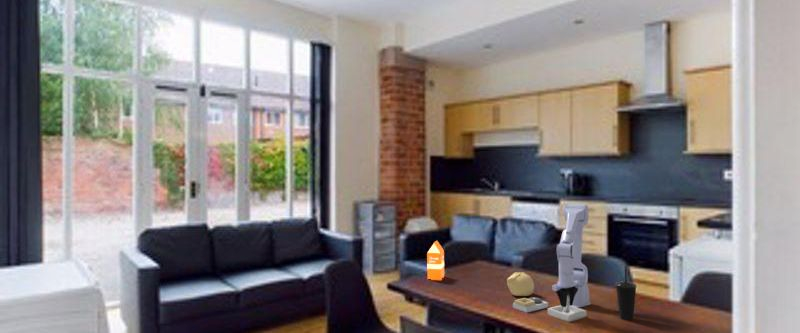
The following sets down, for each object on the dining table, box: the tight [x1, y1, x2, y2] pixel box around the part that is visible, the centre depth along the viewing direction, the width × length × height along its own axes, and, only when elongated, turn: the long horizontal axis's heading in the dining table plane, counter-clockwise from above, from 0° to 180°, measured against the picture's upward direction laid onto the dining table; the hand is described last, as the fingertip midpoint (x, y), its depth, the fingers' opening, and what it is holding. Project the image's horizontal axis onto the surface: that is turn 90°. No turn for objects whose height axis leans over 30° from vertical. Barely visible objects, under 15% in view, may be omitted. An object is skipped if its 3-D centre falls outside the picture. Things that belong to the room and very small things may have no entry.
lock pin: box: [562, 294, 570, 313], centre depth 191 cm, size 3×3×7 cm
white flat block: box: [512, 296, 549, 313], centre depth 203 cm, size 13×8×4 cm, turn 120°
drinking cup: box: [614, 267, 637, 321], centre depth 187 cm, size 8×8×20 cm
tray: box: [547, 304, 587, 323], centre depth 191 cm, size 11×11×3 cm
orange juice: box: [426, 240, 445, 281], centre depth 257 cm, size 8×9×20 cm
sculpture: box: [506, 271, 535, 297], centre depth 222 cm, size 12×12×11 cm
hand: (566, 305), depth 191 cm, fingers closed on lock pin, 3 cm apart
